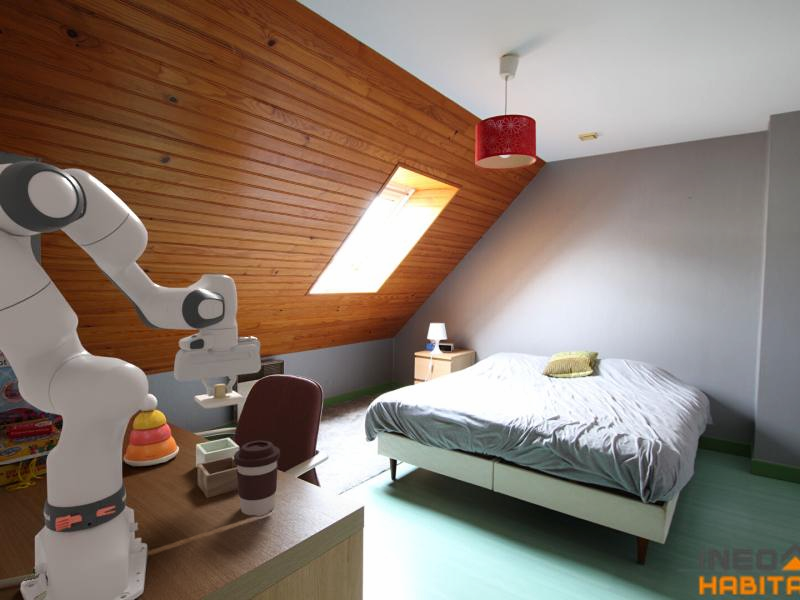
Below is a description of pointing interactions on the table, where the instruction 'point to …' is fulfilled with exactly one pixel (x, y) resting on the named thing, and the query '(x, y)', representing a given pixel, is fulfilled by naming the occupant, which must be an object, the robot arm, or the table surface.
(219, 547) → the table surface
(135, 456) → the stacking toy
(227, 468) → the box
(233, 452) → the planter
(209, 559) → the table surface
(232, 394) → the lid
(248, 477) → the coffee cup
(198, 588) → the table surface
